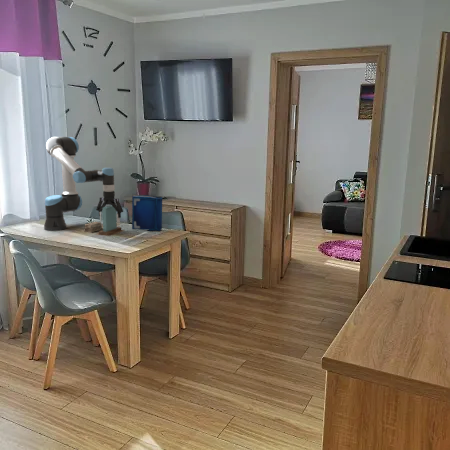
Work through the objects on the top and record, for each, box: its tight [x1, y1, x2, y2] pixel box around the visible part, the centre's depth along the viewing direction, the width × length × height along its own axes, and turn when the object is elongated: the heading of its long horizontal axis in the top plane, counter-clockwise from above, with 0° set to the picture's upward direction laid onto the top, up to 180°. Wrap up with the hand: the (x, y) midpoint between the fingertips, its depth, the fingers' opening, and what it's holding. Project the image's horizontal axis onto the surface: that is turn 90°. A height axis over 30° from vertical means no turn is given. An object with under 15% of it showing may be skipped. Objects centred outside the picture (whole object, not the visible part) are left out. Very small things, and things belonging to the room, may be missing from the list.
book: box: [131, 194, 163, 232], centre depth 318 cm, size 22×7×25 cm, turn 84°
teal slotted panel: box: [102, 205, 118, 232], centre depth 304 cm, size 2×12×18 cm, turn 159°
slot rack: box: [95, 226, 126, 237], centre depth 306 cm, size 12×19×3 cm, turn 159°
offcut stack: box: [83, 221, 103, 233], centre depth 310 cm, size 6×13×6 cm, turn 159°
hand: (110, 221), depth 304 cm, fingers open, 13 cm apart
